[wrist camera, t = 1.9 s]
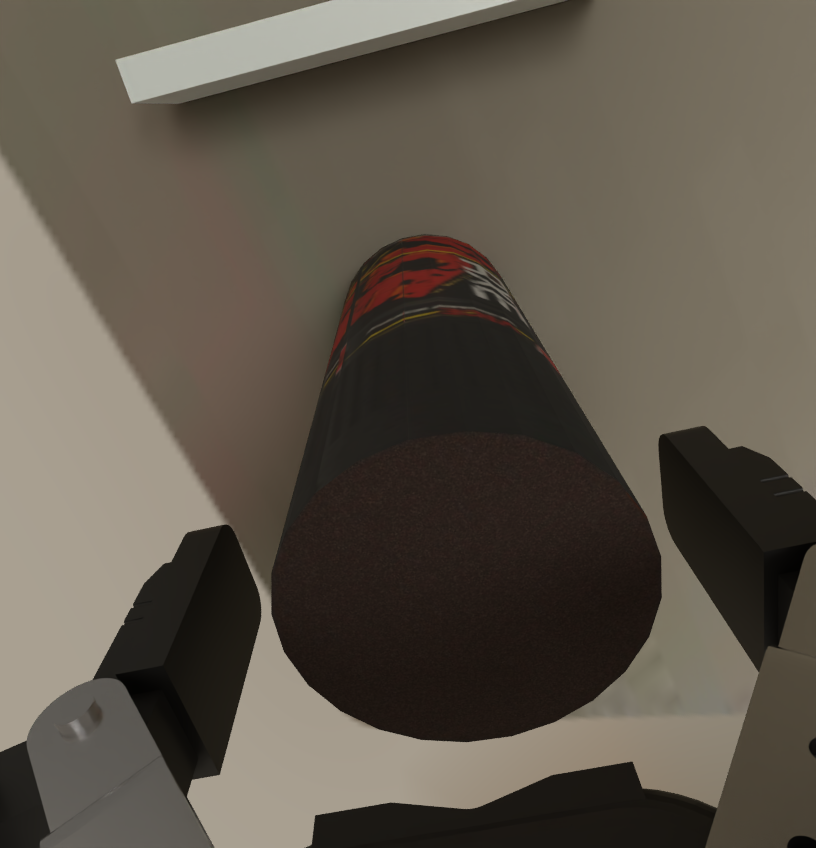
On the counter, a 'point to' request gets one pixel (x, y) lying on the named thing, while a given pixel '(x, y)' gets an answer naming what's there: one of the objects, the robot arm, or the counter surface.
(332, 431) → the deodorant
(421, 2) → the acrylic wall
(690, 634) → the counter surface
